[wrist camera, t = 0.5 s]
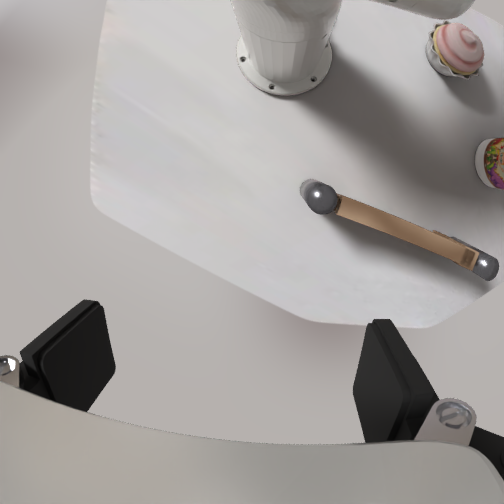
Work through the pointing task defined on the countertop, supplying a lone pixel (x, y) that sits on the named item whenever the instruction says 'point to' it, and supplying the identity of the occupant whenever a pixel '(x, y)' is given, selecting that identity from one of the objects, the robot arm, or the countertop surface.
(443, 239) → the walnut gate
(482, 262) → the post
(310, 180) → the hinge post
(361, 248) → the countertop surface
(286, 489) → the robot arm
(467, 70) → the cupcake
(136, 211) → the countertop surface
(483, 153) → the milk bottle
